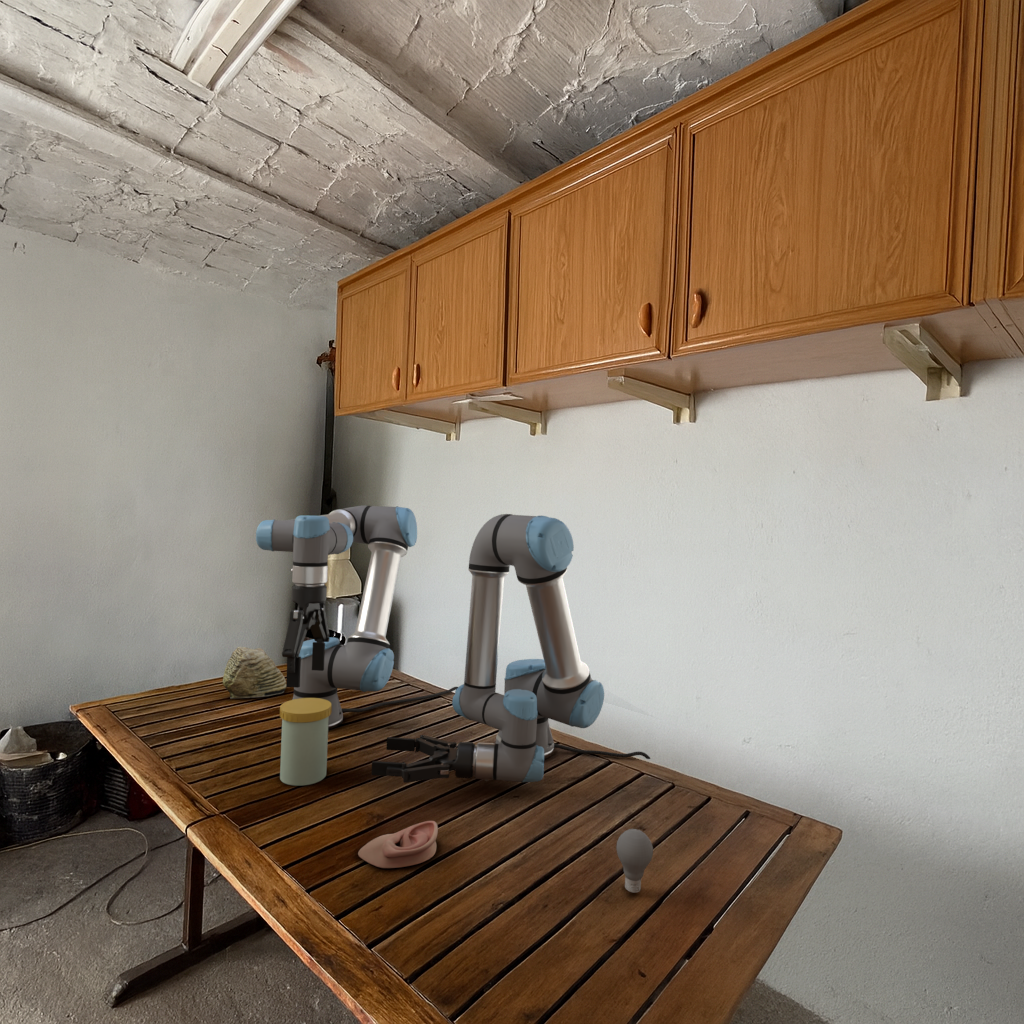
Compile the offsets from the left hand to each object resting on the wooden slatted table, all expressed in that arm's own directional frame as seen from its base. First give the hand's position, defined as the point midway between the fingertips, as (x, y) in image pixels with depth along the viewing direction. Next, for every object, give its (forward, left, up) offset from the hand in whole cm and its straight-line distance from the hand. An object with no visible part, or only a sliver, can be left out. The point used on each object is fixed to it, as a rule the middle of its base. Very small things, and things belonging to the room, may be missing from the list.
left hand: (306, 678), depth 143 cm
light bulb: (-13, +76, -22) cm, 81 cm away
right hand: (-10, +15, -16) cm, 24 cm away
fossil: (-22, -60, -22) cm, 68 cm away
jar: (0, 0, -22) cm, 22 cm away
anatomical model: (+6, +39, -22) cm, 45 cm away
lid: (0, 0, -7) cm, 7 cm away
